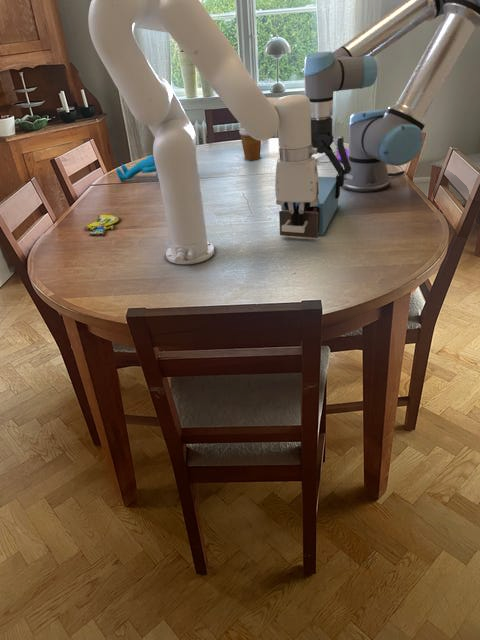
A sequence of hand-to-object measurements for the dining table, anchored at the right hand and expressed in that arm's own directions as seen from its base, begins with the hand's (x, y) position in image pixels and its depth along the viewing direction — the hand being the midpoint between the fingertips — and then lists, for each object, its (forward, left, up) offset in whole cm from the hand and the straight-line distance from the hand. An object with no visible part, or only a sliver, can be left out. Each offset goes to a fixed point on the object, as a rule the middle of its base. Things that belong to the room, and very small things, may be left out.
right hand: (317, 196), depth 142 cm
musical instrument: (-53, -24, -4) cm, 59 cm away
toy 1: (+40, -51, -4) cm, 65 cm away
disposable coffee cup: (-40, -55, -4) cm, 68 cm away
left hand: (+23, +8, 0) cm, 25 cm away
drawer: (+14, +5, -3) cm, 15 cm away
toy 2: (-2, -72, -4) cm, 72 cm away
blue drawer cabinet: (+7, +2, -4) cm, 9 cm away
